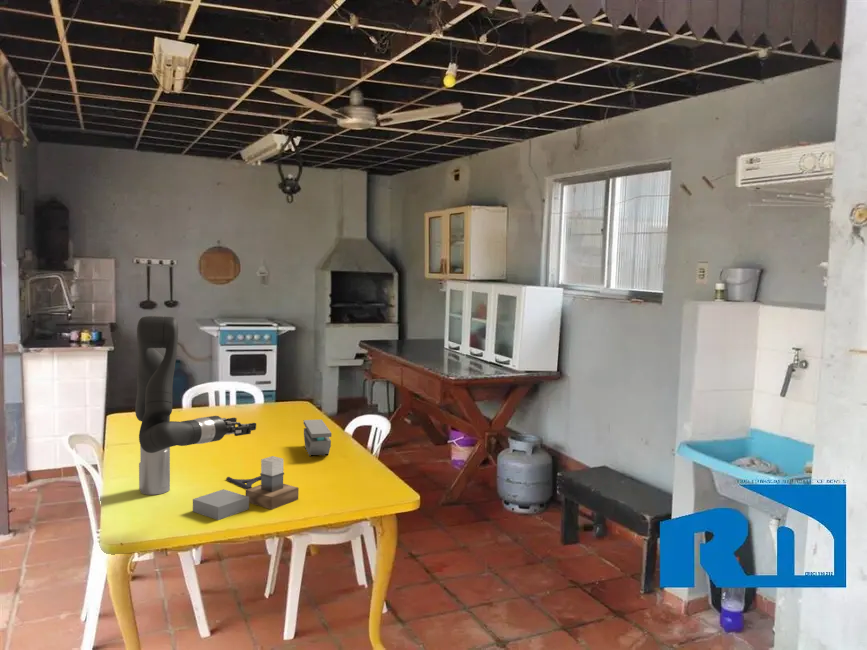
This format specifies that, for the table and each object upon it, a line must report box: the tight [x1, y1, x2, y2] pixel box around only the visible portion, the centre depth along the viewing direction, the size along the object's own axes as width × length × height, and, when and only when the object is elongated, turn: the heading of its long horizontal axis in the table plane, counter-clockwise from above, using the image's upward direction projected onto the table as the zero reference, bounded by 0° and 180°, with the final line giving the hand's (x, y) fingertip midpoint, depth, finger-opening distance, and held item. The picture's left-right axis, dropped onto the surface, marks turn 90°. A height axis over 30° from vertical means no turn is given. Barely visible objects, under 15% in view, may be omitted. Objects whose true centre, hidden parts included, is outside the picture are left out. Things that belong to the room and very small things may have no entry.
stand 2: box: [245, 483, 300, 510], centre depth 225 cm, size 12×12×4 cm
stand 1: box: [192, 488, 250, 521], centre depth 214 cm, size 12×12×4 cm
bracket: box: [225, 475, 261, 490], centre depth 245 cm, size 14×15×3 cm
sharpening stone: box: [303, 419, 332, 457], centre depth 284 cm, size 25×8×11 cm, turn 18°
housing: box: [259, 455, 285, 492], centre depth 224 cm, size 5×5×10 cm
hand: (245, 423), depth 215 cm, fingers open, 8 cm apart
